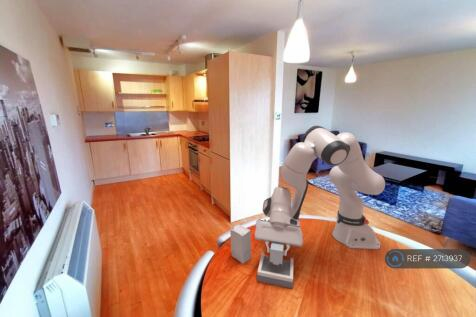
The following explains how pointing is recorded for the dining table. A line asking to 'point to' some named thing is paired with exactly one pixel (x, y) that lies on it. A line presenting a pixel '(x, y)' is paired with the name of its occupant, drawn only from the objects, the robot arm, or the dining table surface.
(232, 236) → the skincare box
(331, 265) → the dining table surface
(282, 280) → the dock
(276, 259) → the white footed cube
